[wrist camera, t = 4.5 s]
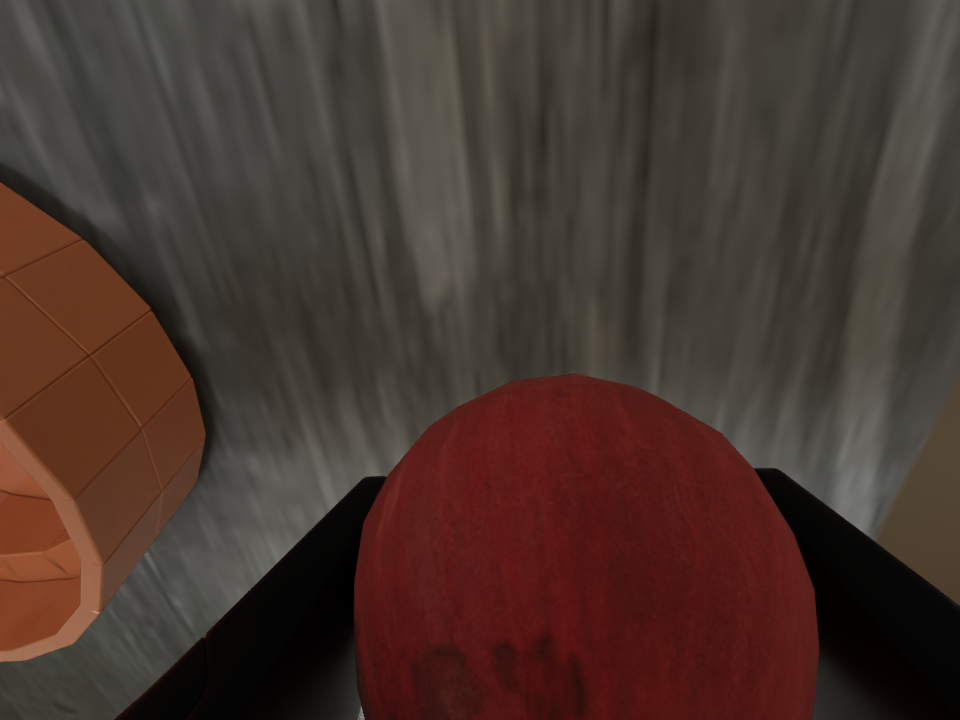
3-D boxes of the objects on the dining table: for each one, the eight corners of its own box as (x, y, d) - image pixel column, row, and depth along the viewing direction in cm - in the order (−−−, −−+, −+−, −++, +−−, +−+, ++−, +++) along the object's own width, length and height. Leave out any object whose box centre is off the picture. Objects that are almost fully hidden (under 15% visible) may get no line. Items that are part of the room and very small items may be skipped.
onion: (405, 500, 12) (244, 1104, 5) (420, 264, 9) (76, 995, 2) (659, 537, 12) (823, 1196, 5) (762, 313, 9) (1484, 1214, 2)
